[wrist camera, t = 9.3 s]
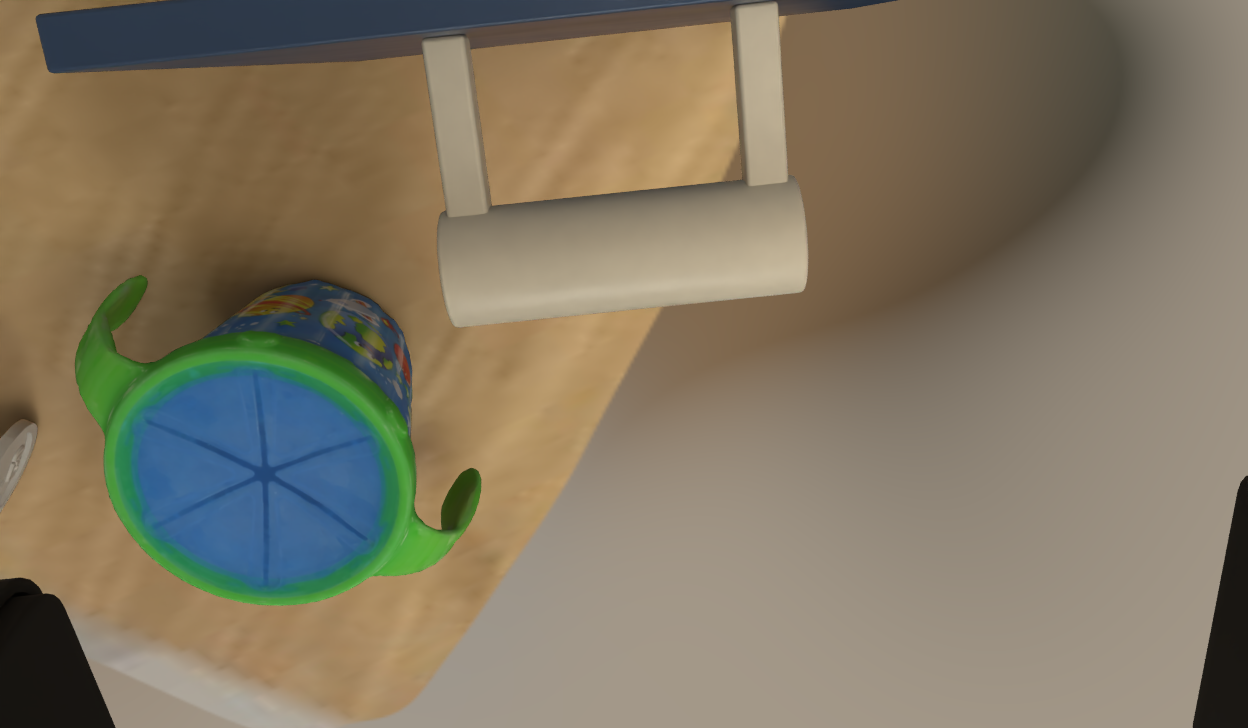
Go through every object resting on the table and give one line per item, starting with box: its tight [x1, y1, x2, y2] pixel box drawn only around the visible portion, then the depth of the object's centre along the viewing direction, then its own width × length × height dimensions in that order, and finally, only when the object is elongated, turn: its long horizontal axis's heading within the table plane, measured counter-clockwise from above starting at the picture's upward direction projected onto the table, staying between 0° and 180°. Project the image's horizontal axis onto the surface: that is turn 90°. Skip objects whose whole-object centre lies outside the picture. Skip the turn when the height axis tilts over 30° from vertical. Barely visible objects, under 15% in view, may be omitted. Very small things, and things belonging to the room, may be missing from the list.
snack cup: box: [75, 275, 481, 606], centre depth 41 cm, size 16×10×10 cm
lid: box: [36, 0, 896, 328], centre depth 25 cm, size 19×16×6 cm
